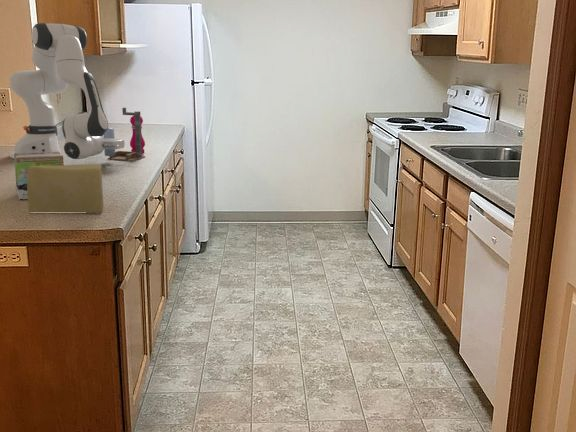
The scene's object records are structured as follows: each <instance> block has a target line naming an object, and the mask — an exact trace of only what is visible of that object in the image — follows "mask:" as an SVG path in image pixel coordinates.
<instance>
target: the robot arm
mask: <svg viewBox="0 0 576 432" xmlns="http://www.w3.org/2000/svg"><path fill="white" fill-rule="evenodd" d="M31 40H32V43H33V51H32V54H31V60H32V64H33V65H34V66H35V67H36V68H37V69H30V70H28V69H27V70H26V69H24V70H18V71H14V72H12V74H11V75H10V77H9V86H10V89H11V90H12V92H13V93H14V94H16V95H18V96H19V97H20V98H21V99H22V100H23V102H24V103H25V106H26V108H27V112H28V116H29V118H28V119H29V125H28V126H27V125H23V130H24V131H25V134H24V135H23V136H22V137H20V138H19V139H18V140H17V141H16V142H15V143H14V144H15V145H14V148H13V149H14V150H13V152H11V153H9V158H11V159H13V160H14V153H35V152H60V153H61V154H62V152H61V151H62V150H61V148H60V145H59V141H58V134H59V133H58V126H57V124H56V113H55V108H54V107H53V105H52V104H50V103H48V102H46V101H44V100H43V98H42V96H43V95H57V94H61V93H64V92H66V90H67V89H68V86H69V85H71V86H74V87H77V88H79V89H81V90H82V91H83V92H84V96H85V98H86V102H87V106H88V109H89V110H88V112H86V113H79V114H72V115H68V116H67V115H66V116H65V118H64V119H63V121H62V124H61V125H62V126H61V130H62V135H63V137H64V139H65V142H64V144H63V150H64V153H65V155H66V156H67V157H68V158H70V159H72V160H83V159H87V158H89V157H94V156H97V155H101V154H102V153H103V152H104V149H115V150H121V149H123V148H125V140H124V139H123V138H115V139H112V138H104V134H105V132H106V131H107V129H108V128H109V123H108V121H109V120H108V119H107V116H106V114H105V111H104V108H103V104H102V101H101V97H100V94H99V90H98V87H97V83H96V80H95V77H94V76H93V75H92V73H90V72H89V71H88V70H87V68H86V65H85V57H84V52H83V51H84V50H85V48H86V47H87V44H88V43H87V42H88V37H87V33H86V31H85V29H84V28H83V27H80V26H78V25H71V24H65V23H46V22H38V23H36V24H34V26H33V27H32V29H31Z"/></svg>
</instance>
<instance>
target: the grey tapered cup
mask: <svg viewBox="0 0 576 432" xmlns="http://www.w3.org/2000/svg"><path fill="white" fill-rule="evenodd" d="M103 138H112V139H116V138H115V128H114V127H108V129H107V131H106V132H105V134H104V135H103ZM103 152H104V156H105V157H109V156H115V152H116V149H104V150H103Z"/></svg>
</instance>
